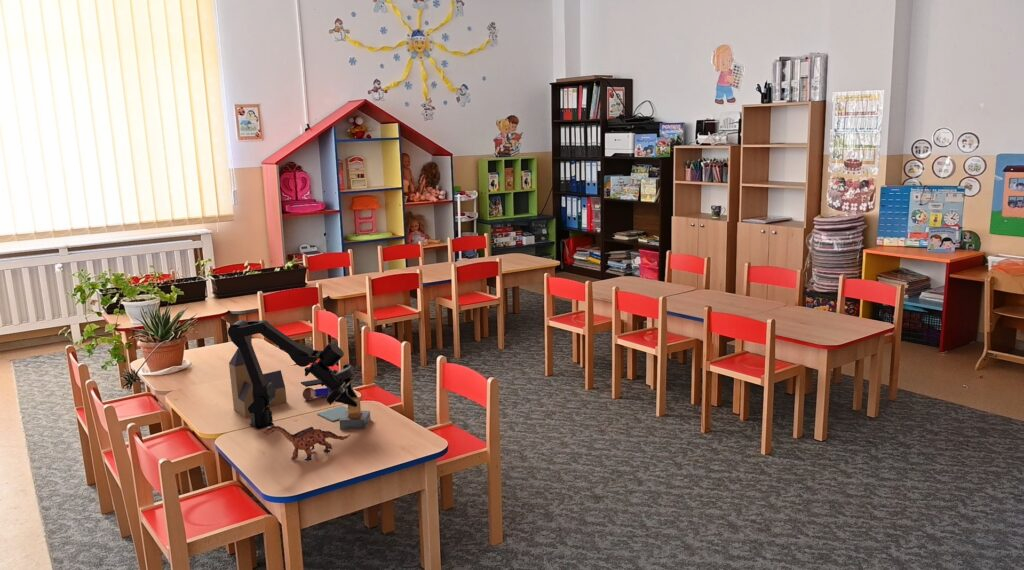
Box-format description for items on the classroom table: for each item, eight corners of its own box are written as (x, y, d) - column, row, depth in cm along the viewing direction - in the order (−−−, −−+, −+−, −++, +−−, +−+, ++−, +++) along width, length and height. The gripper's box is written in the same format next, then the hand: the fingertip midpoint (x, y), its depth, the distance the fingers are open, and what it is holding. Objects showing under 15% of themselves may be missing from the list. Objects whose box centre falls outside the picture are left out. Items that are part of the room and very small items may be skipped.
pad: (332, 421, 290) (332, 420, 290) (317, 414, 298) (317, 413, 298) (358, 413, 297) (358, 412, 297) (342, 406, 305) (342, 405, 305)
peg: (359, 424, 285) (357, 400, 283) (349, 424, 285) (347, 400, 283) (361, 420, 289) (359, 397, 287) (351, 420, 289) (349, 397, 287)
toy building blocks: (233, 409, 306) (227, 347, 301) (280, 398, 318) (274, 338, 312) (245, 418, 297) (239, 354, 291) (293, 406, 308) (287, 344, 303)
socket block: (364, 429, 282) (364, 419, 282) (340, 429, 283) (339, 420, 282) (370, 419, 291) (369, 410, 290) (346, 419, 292) (345, 410, 291)
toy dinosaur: (261, 470, 252) (256, 425, 248) (337, 439, 274) (334, 398, 271) (276, 477, 246) (272, 431, 243) (353, 445, 268) (350, 403, 265)
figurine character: (335, 394, 325) (299, 398, 316) (336, 375, 324) (300, 379, 315) (342, 398, 319) (306, 403, 310) (343, 380, 318) (306, 384, 309)
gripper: (332, 367, 273) (366, 397, 275) (346, 352, 291) (378, 380, 293) (312, 389, 275) (345, 419, 277) (327, 372, 293) (358, 400, 295)
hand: (357, 404), depth 285 cm, fingers closed on peg, 4 cm apart
